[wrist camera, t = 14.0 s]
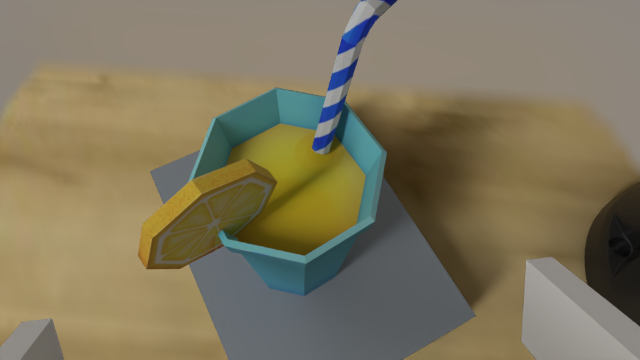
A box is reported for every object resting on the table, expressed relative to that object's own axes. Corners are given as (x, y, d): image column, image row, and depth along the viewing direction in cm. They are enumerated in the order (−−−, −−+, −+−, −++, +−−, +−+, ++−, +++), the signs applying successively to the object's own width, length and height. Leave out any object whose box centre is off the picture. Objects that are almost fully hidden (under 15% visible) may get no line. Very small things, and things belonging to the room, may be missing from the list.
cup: (319, 126, 31) (325, -89, 18) (420, 186, 29) (512, -4, 16) (176, 298, 26) (33, 178, 13) (288, 385, 24) (259, 351, 11)
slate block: (327, 133, 37) (329, 94, 32) (451, 330, 30) (475, 315, 26) (171, 203, 34) (150, 171, 30) (271, 437, 27) (263, 442, 23)
